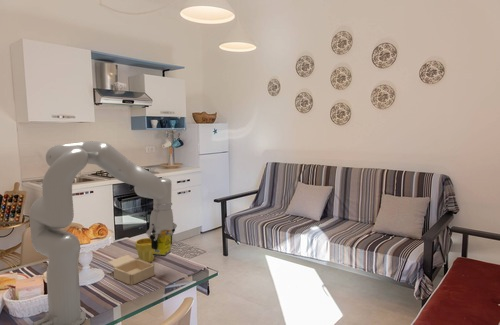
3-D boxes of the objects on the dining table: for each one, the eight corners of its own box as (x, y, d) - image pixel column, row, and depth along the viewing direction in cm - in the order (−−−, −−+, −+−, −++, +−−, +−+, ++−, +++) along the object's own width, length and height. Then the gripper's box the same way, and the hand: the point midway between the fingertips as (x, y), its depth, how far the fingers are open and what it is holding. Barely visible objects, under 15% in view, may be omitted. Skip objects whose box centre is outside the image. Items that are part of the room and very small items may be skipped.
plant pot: (161, 260, 172) (161, 241, 171) (142, 266, 164) (141, 246, 163) (151, 254, 179) (150, 236, 178) (132, 260, 172) (131, 240, 171)
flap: (107, 261, 155) (107, 262, 155) (115, 267, 152) (115, 267, 152) (127, 254, 164) (127, 255, 164) (135, 259, 161) (135, 259, 161)
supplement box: (165, 257, 149) (165, 232, 148) (152, 255, 151) (152, 230, 150) (171, 252, 155) (171, 228, 154) (158, 251, 156) (158, 227, 155)
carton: (131, 286, 145) (131, 275, 144) (113, 278, 152) (112, 268, 151) (156, 274, 156) (156, 264, 155) (138, 268, 163) (137, 258, 162)
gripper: (171, 202, 160) (170, 240, 162) (140, 208, 146) (140, 249, 147) (182, 205, 156) (182, 243, 158) (152, 211, 142) (151, 253, 143)
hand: (161, 246), depth 153 cm, fingers closed on supplement box, 7 cm apart
